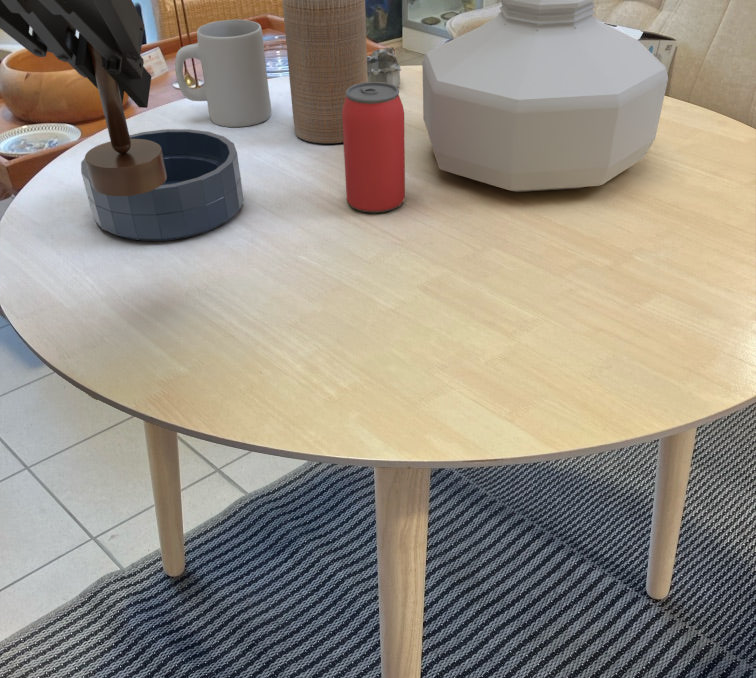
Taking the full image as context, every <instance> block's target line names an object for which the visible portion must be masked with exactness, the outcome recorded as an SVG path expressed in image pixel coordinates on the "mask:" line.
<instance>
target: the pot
mask: <svg viewBox="0 0 756 678" xmlns="http://www.w3.org/2000/svg"><path fill="white" fill-rule="evenodd" d="M595 1H596V0H500V3H501V6H500V7H499V10H500V12H498V13H497V16H496V17H494V18H492V19H491V20H489V21H487V22H485V23H484V24H481V25H480V26H479V27H476V28H475V29H472V30H470V31H468V32H466V33H463V34H462V35H460V36H459V35H458V36H457V37H455V38H452V39H451V40H449V41H447V42H445V43H442V44H441V45H438V46H436V47H434V48H432V49H430V50H428V51H426V53H425V55H424V57H423V60H422V116H423V123H424V125H425V128H426V132H427V135H428V138H429V141H430V145H431V147H432V151H433V154H434V157H435V160H436V163H437V166H438V169H439V170H440V171H444V172H447V173H451V174H454V175H457V176H461V177H464V178H467V179H469V180H473V181H477V182H480V183H482V184H483V183H484V184H487V185H490V186H494V187H498V188H501V189H503V190H507V191H509V192H514V193H527V192H530V193H531V192H544V191H545V192H546V191H561V190H578V189H583V188H585V187H600V186H603V185H605V184H606V183H607V182H610V181H611V180H613V178H615V177H617V176H619V174H621V173H623V172H624V171H626V170H627V169H630V168H631V167H632V166H633V165H635V164H636V163H638V162H640V161H642V160H643V159H644V158H645V157H646V156H647V154H648V152H649V150H650V149H651V147H652V145H653V144H654V142H655V140H656V137H657V132H658V129H659V124H660V123H659V122H660V119H661V114H662V108H663V106H664V100H665V95H666V90H667V85H668V81H669V76H668V71H667V67H666V66H665V65H664V64H663V63H662V62H661V61H660V60H659V59H658V58H657V57H656V56H655V55H654V54H653V53H652V52H651V51H650V50H649V49H648V48H647V47H646V46H645V45H643V44H642V42H641V41H640V40H638V39H637V38H634V37H632V36H631V35H628V34H626V33H625V32H622V31H621V30H618V29H617V28H614V27H613V26H610V25H608V24H607V23H604V22H602V21H601V20H599V19H597V18H596V17H595V16H594V14H596V12H595V10H594V8H596V5H595V4H594V2H595Z"/></svg>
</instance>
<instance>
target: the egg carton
mask: <svg viewBox="0 0 756 678" xmlns="http://www.w3.org/2000/svg"><path fill="white" fill-rule="evenodd" d="M401 68H402V67H401V66H400V63H399V62H398V58H397V55H396V53H395V50H394V46H392V47H383V48H378V49H376V50H373V51H372V53H371V55H367V76H368V82H384V83H389V84H392V85H394V86H396V87H397V88H399V87H400V85H401V72H402V69H401Z"/></svg>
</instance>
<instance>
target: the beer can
mask: <svg viewBox="0 0 756 678" xmlns="http://www.w3.org/2000/svg"><path fill="white" fill-rule="evenodd" d="M399 94H400V89H399V87H396V86H394V85H392V84H389V83H384V82H365V83H359V84H356V85H353V86H351V87H349V88H348V89H347V91H346V98H345V102H344V105H343V110H342V123H343V141H344V143H343V156H344V157H343V158H344V159H343V160H344V173H345V175H344V176H345V192H346V193H345V195H346V201H347V203H348V204H349V205H350V206H351V207H352V208H353V209H355V210H357V211H359V212H363V213H370V214H377V213H386V212H390V211H392V210H394V209H397V208H398V207H400V206H401V205H402V204H403V202H404V200H405V197H406V167H405V166H406V165H405V164H406V155H405V153H406V151H405V149H406V148H405V147H406V146H405V140H406V139H405V110H404V105H403V102H402V100H401V97H400V95H399Z"/></svg>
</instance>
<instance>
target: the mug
mask: <svg viewBox="0 0 756 678" xmlns="http://www.w3.org/2000/svg"><path fill="white" fill-rule="evenodd" d="M263 36H264V35H263V29H262V26H261V24H260V23H258V22H257V21H253V20H248V19H224V20H216V21H212V22H208V23H206V24H203V25H201V26H199V27H198V28H197V30H196V38H197V39H196V40H197V42H195V43H192V44H191V43H190V44H188V45H184V46H182V47H180V49H178V51H177V52H176V55H175V60H174V61H175V62H174V70H175V78H176V82H177V84H178V87H179V90H180V92H181V93H182V95H183V97H185V98H186V99H187V100H189V101H193V102H207V108H208V109H207V110H208V115H209V116H208V117H209V119H210V122H212V123H213V124H215V125H218V126H219V127H227V128H244V127H251V126H255V125H258V124H262V123H264V122H265V121H268V119H269V118H270V117H271V115H272V104H271V97H270V89H269V88H270V87H269V82H268V81H269V80H268V72H267V64H266V63H267V61H266V54H265V45H264V37H263ZM188 59H196V60H198V61H200V64H201V71H202V76H203V85H201V87H198V88H197V87H196V88H191V87H189V85H187V82H186V80H185V77H184V64H185V62H186V61H187V60H188Z"/></svg>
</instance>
